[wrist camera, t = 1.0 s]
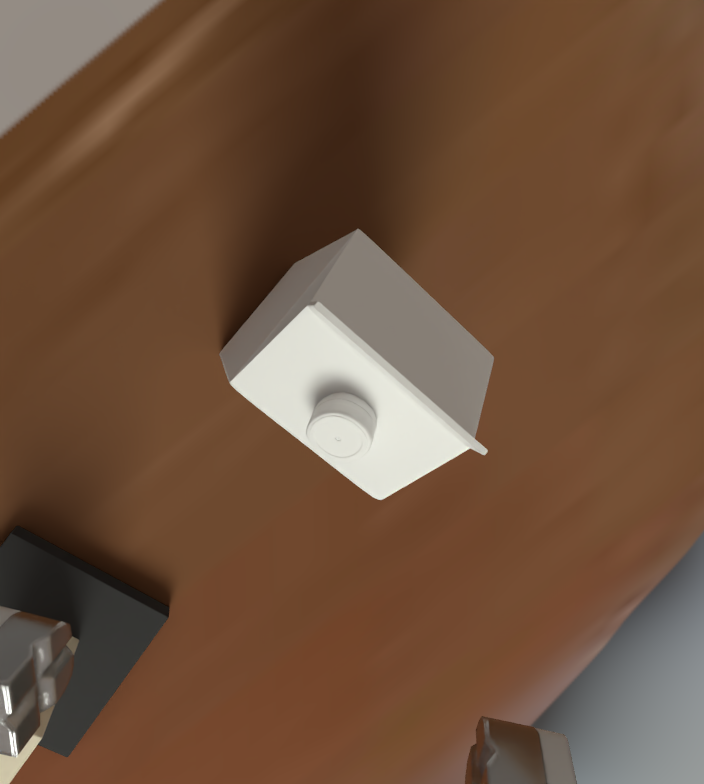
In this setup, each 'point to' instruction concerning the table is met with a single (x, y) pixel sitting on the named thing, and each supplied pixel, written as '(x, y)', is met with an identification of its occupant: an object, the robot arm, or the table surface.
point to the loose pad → (76, 633)
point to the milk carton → (362, 367)
